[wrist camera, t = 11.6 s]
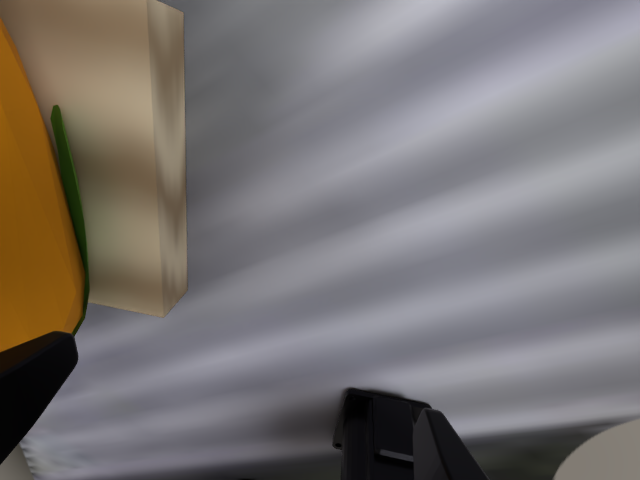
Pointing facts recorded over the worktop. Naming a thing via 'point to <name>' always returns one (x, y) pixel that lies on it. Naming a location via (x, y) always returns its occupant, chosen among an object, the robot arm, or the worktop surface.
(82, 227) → the corn
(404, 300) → the worktop surface
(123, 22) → the birch base
